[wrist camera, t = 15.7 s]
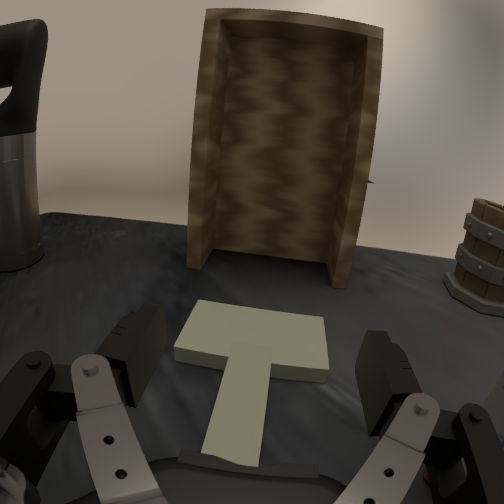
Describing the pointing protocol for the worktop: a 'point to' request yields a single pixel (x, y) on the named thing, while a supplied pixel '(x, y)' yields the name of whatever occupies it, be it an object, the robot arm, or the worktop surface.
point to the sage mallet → (249, 367)
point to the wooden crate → (282, 136)
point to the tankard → (480, 260)
